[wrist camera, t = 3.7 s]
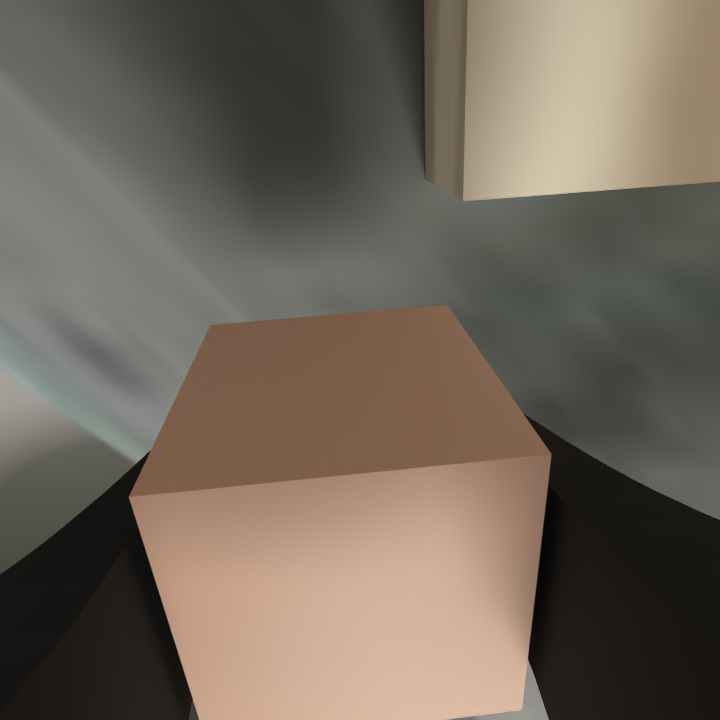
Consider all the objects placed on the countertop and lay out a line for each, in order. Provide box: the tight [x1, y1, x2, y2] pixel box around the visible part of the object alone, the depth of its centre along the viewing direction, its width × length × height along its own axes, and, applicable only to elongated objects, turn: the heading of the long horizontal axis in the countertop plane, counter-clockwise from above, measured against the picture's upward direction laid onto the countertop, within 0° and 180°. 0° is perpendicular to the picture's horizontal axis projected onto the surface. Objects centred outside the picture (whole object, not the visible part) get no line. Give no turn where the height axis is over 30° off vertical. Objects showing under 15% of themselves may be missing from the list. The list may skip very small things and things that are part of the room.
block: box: [129, 305, 552, 720], centre depth 9 cm, size 5×5×5 cm
